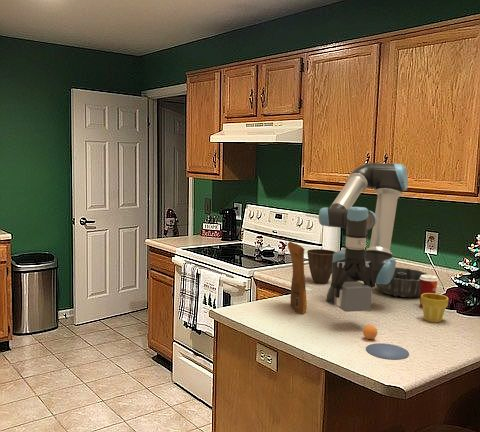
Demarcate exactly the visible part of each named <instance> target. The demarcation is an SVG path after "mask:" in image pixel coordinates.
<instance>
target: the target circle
mask: <svg viewBox="0 0 480 432" xmlns="http://www.w3.org/2000/svg"><path fill="white" fill-rule="evenodd" d="M365 351H366V352H367V353H368V354H370V355H371V356H374V357H376V358H379V359H384V360H392V361H393V360H394V361H395V360H397V361H398V360H403V359H406V358H408V357H409V356H410V352H409V351H408V350H407V349H406V348H404V347H402V346H399V345H396V344H391V343H380V342H379V343H371V344H368V345H367V346H365Z"/></svg>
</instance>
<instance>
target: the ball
mask: <svg viewBox="0 0 480 432" xmlns="http://www.w3.org/2000/svg"><path fill="white" fill-rule="evenodd" d="M362 335H363V337H364V338H365V339H367V340H374V339H376V338H377V336H378V330H377V328H376V327H375V326H374V325H372V324H367V325H365V326H364V327H363V329H362Z"/></svg>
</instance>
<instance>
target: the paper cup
mask: <svg viewBox="0 0 480 432" xmlns="http://www.w3.org/2000/svg"><path fill="white" fill-rule="evenodd" d="M438 281H439V278H438V276H436V275H433V274H429V275H421V277H420V296H419V307H420V308H421V309H423V306H422V304H421V295H422V294H424V293H435V294H437V285H438Z"/></svg>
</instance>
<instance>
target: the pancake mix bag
mask: <svg viewBox="0 0 480 432" xmlns="http://www.w3.org/2000/svg"><path fill="white" fill-rule="evenodd" d="M287 248H288V252H289V254H290V258H291V259H290V260H291V265H292V278H291V284H290V285H291V286H290V306H291V308H292V309H293V312H294V313H296V314H300V315H304V314H306V312H307V308H308V306H307V304H308V303H307V290H306V289H307V288H306V287H307V286H306V278H305V277H306V276H305V248H304V247H303V246H302V245H300V244H298V243H294V242H292V241H288V243H287Z"/></svg>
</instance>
